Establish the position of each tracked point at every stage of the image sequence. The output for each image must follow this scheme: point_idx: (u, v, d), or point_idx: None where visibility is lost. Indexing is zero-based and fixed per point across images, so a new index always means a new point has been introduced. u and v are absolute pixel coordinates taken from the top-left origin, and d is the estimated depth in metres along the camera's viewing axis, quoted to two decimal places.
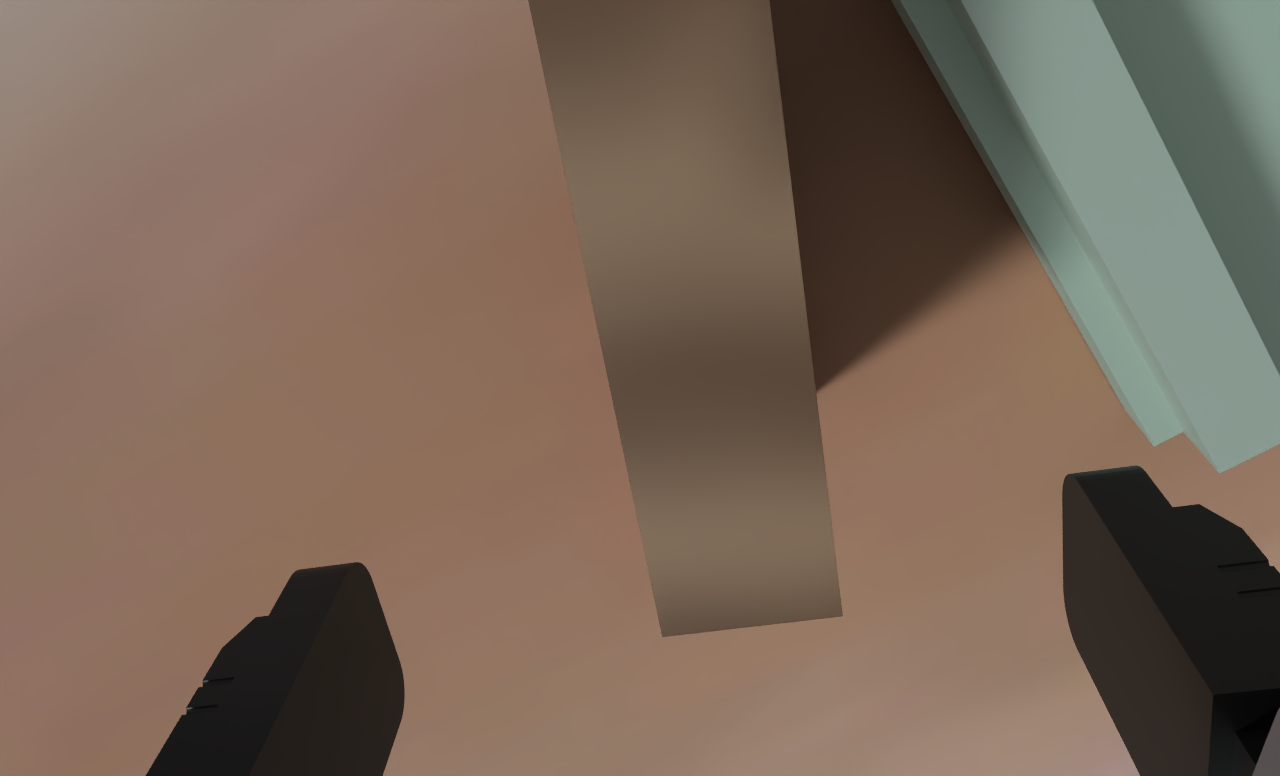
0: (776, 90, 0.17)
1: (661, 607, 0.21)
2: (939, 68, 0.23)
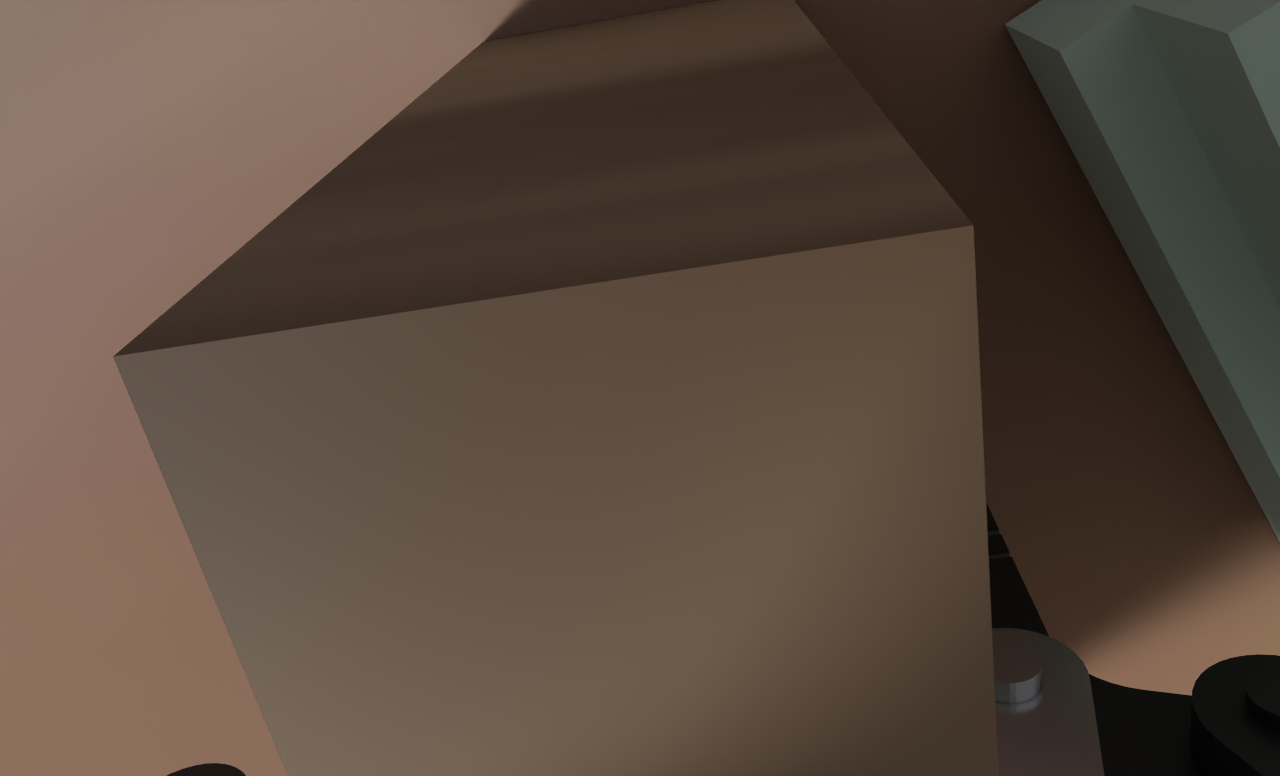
0: (978, 635, 0.05)
1: None
2: (1184, 294, 0.12)
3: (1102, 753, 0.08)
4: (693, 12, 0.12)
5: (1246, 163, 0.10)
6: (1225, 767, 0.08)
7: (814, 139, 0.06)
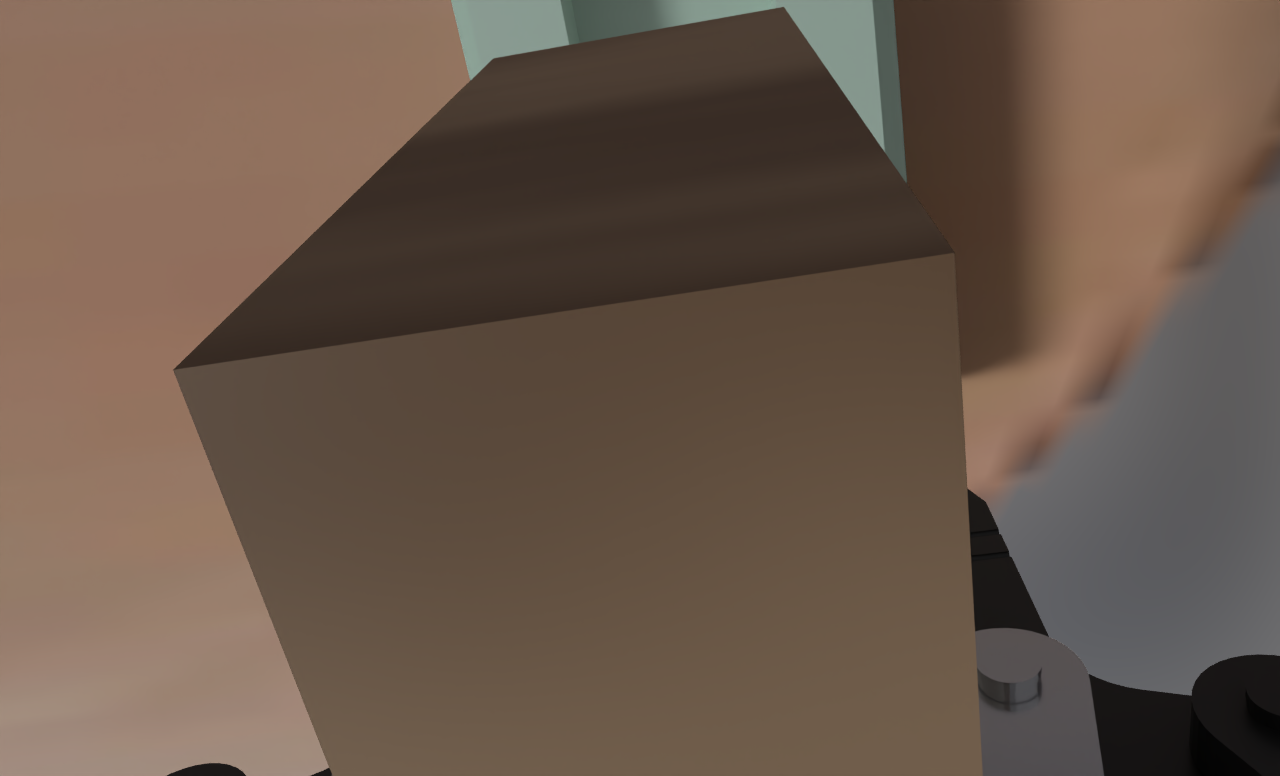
0: (962, 625, 0.05)
1: None
2: (470, 74, 0.26)
3: (1101, 753, 0.08)
4: (696, 31, 0.12)
5: None
6: (1225, 767, 0.08)
7: (810, 166, 0.06)
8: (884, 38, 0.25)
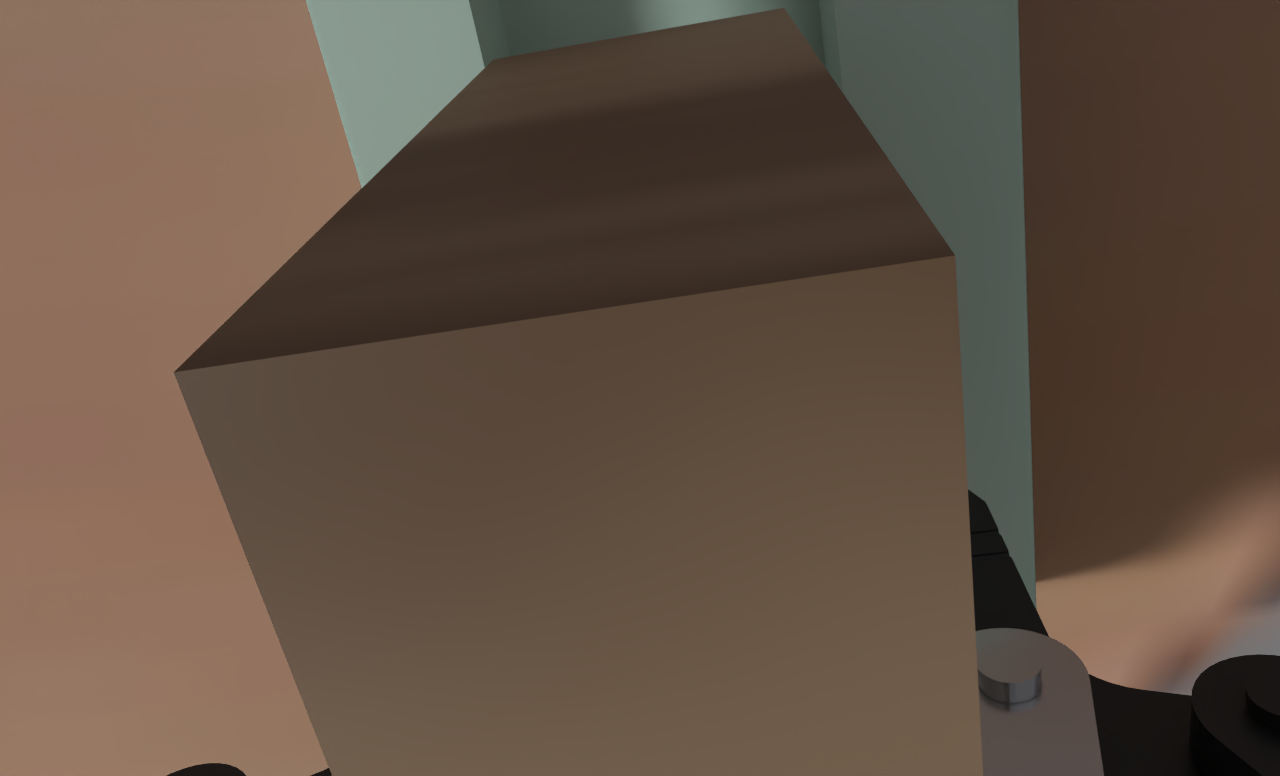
0: (963, 627, 0.05)
1: None
2: (359, 172, 0.17)
3: (1101, 753, 0.08)
4: (696, 32, 0.12)
5: None
6: (1225, 767, 0.08)
7: (812, 167, 0.06)
8: (1003, 117, 0.16)
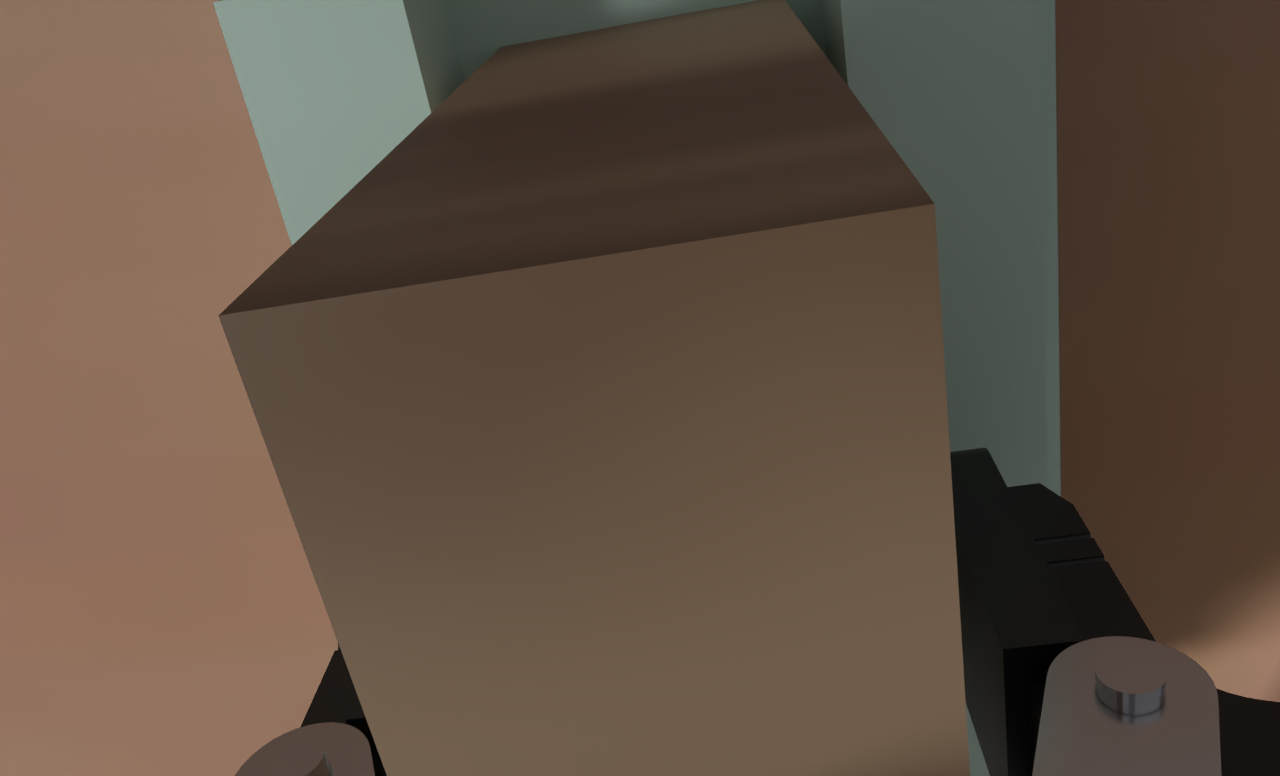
0: (945, 555, 0.06)
1: None
2: None
3: (1229, 767, 0.08)
4: (697, 19, 0.12)
5: None
6: None
7: (805, 134, 0.07)
8: None
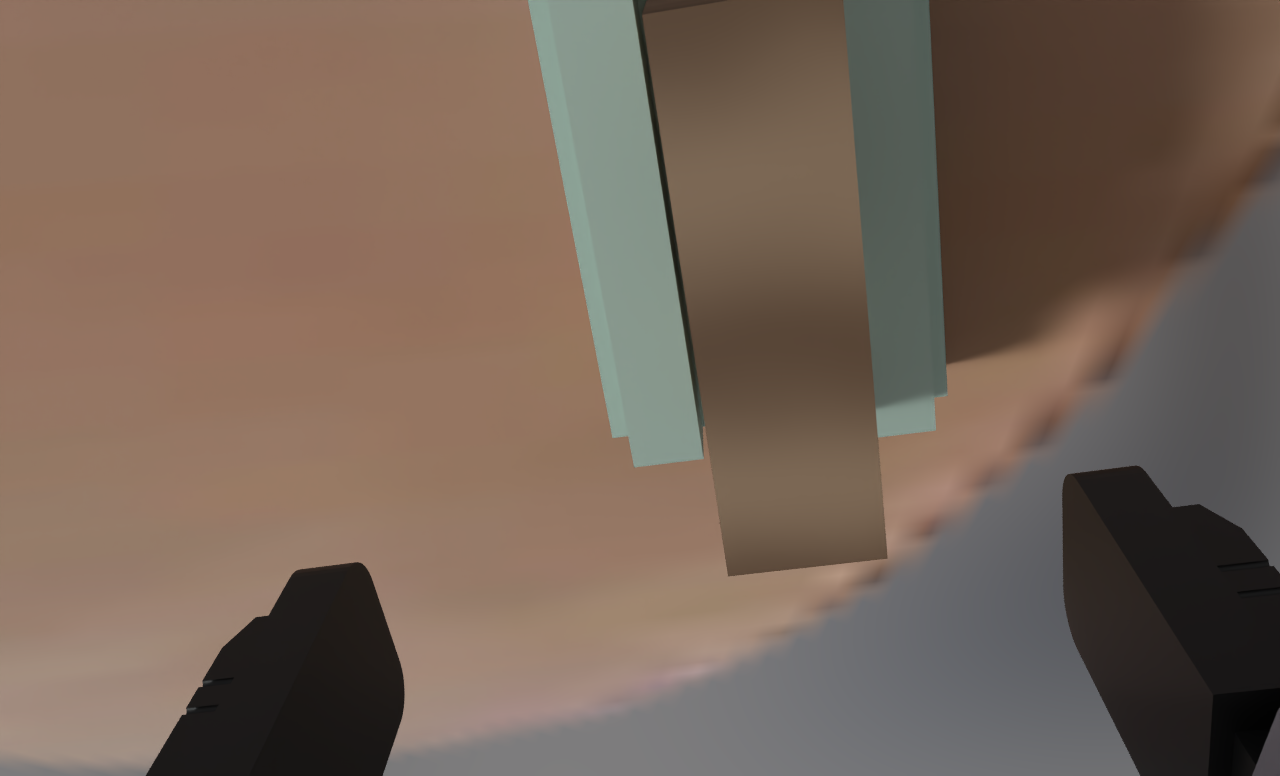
0: (847, 96, 0.20)
1: (728, 549, 0.24)
2: (542, 69, 0.28)
3: None
4: None
5: None
6: None
7: None
8: (920, 42, 0.28)
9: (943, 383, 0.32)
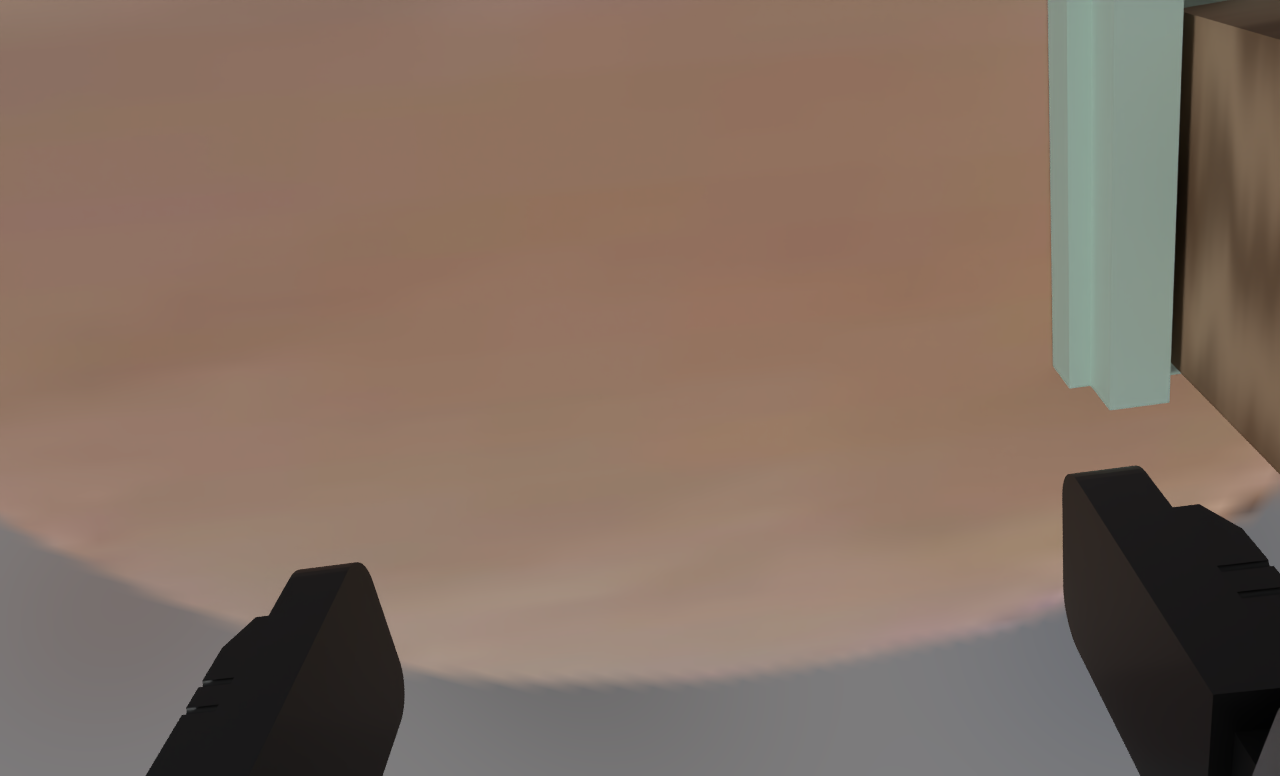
0: None
1: None
2: (1067, 86, 0.35)
3: None
4: None
5: (1102, 39, 0.33)
6: None
7: None
8: None
9: None
